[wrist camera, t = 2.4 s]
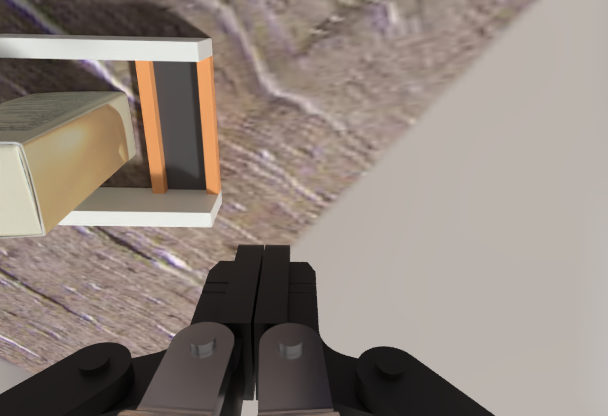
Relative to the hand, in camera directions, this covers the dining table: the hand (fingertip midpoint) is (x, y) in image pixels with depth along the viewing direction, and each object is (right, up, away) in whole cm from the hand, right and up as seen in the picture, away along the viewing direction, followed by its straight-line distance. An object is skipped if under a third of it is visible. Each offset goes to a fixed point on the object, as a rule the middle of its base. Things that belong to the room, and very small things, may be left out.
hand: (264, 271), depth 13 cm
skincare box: (-13, +8, +16) cm, 22 cm away
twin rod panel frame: (-11, +7, +16) cm, 21 cm away
